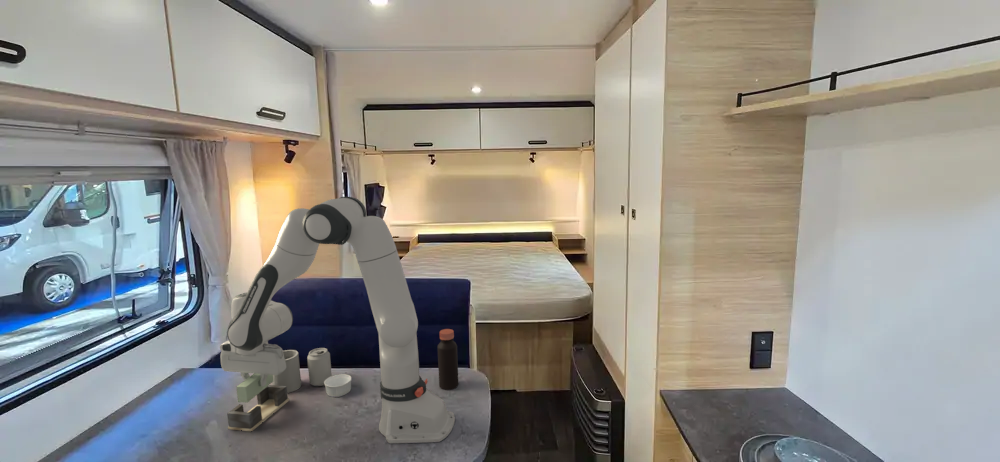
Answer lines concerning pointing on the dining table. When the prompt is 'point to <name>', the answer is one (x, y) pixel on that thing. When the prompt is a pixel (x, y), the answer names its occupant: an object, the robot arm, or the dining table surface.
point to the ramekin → (338, 385)
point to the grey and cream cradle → (258, 409)
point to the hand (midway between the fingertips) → (255, 384)
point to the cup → (289, 372)
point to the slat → (251, 387)
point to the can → (319, 366)
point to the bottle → (447, 360)
